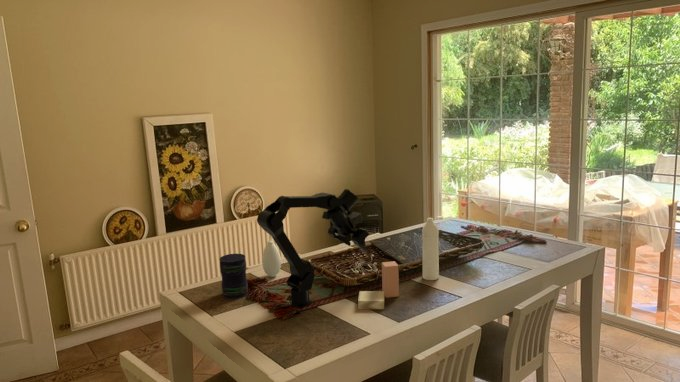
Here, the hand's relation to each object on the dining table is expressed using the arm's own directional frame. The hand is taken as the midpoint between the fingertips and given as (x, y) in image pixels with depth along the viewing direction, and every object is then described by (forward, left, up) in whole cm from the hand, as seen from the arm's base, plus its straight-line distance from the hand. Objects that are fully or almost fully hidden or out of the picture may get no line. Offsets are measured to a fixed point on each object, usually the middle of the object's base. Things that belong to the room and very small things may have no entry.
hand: (357, 247), depth 198 cm
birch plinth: (-14, -15, -15) cm, 26 cm away
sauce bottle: (-11, +36, -15) cm, 41 cm away
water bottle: (+21, -23, -15) cm, 34 cm away
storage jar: (-33, +35, -15) cm, 51 cm away
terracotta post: (-3, -17, -15) cm, 23 cm away
